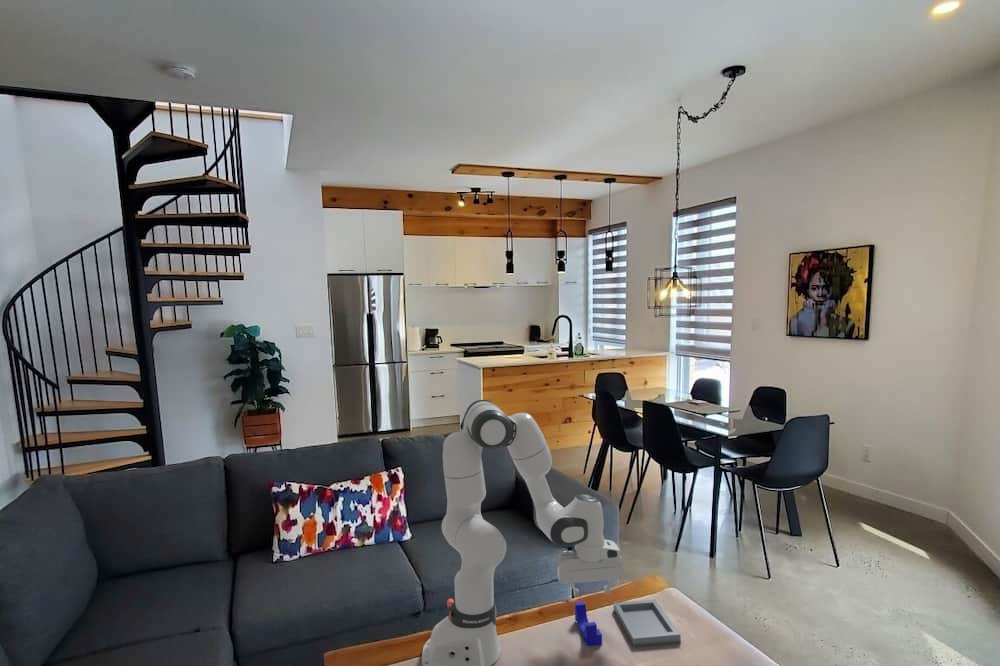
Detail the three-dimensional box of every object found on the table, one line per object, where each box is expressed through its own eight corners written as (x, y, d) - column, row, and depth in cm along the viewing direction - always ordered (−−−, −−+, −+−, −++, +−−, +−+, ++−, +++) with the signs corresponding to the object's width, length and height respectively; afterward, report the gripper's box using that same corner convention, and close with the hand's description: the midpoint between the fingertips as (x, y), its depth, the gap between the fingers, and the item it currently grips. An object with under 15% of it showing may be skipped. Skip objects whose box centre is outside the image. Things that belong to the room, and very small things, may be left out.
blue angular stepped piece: (602, 644, 141) (601, 624, 141) (587, 646, 141) (586, 626, 140) (589, 620, 153) (588, 601, 153) (575, 621, 153) (574, 602, 152)
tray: (633, 647, 140) (633, 638, 139) (613, 610, 157) (613, 602, 157) (680, 642, 141) (680, 634, 141) (655, 607, 159) (655, 599, 159)
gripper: (557, 557, 143) (560, 603, 143) (625, 551, 144) (627, 596, 145) (553, 547, 149) (555, 591, 149) (618, 541, 151) (620, 585, 151)
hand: (591, 594), depth 147 cm, fingers open, 8 cm apart
